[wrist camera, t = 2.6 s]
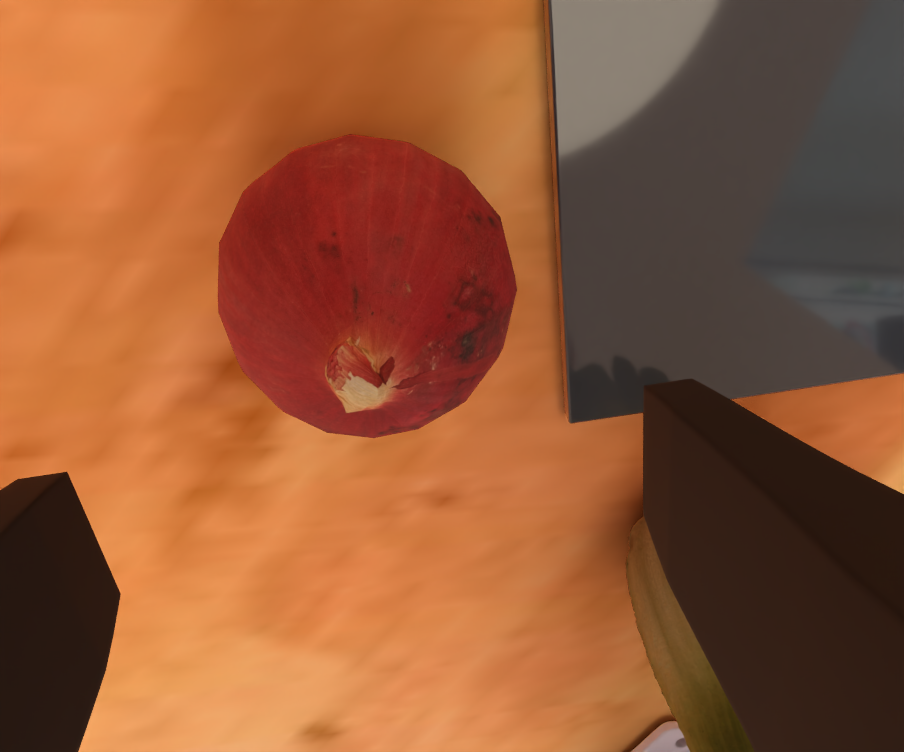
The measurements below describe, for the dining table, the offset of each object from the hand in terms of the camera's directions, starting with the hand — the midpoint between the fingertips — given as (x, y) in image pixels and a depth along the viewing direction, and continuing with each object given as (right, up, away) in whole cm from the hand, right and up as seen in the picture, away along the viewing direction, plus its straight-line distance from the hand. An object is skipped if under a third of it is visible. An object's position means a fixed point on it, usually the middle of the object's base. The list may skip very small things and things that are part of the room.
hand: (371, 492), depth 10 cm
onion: (-1, +5, +9) cm, 11 cm away
